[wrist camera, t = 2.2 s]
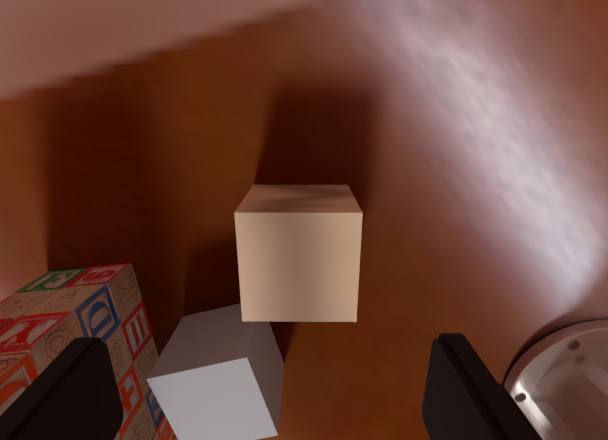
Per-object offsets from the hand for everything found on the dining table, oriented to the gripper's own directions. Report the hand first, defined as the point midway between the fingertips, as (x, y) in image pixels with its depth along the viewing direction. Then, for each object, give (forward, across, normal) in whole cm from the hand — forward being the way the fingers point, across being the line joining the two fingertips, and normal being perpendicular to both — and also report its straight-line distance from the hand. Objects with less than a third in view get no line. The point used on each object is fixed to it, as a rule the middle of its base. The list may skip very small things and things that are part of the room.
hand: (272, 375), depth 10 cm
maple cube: (+13, -1, 0) cm, 13 cm away
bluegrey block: (+13, +4, +10) cm, 17 cm away
